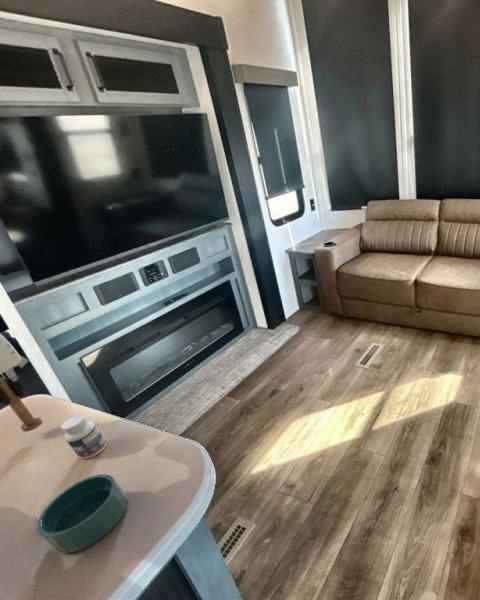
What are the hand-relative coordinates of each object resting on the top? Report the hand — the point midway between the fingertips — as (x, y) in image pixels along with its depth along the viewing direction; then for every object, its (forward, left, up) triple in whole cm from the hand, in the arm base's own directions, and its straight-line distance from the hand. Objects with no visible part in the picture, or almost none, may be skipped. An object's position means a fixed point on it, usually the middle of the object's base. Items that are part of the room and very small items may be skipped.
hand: (12, 398), depth 84 cm
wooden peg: (0, 0, -9) cm, 9 cm away
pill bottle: (+20, 0, -12) cm, 23 cm away
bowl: (+38, -12, -11) cm, 42 cm away
